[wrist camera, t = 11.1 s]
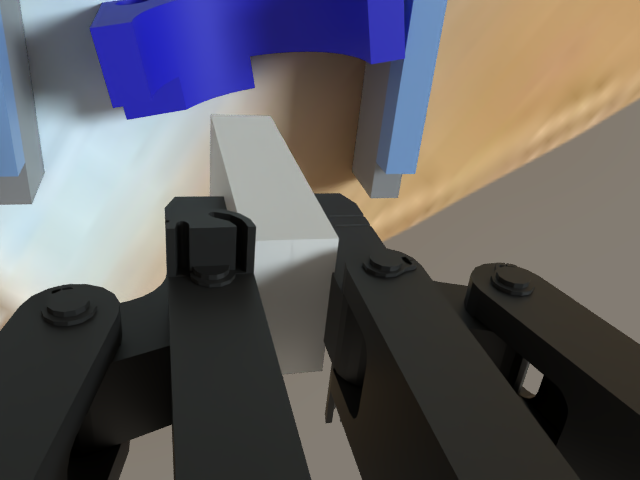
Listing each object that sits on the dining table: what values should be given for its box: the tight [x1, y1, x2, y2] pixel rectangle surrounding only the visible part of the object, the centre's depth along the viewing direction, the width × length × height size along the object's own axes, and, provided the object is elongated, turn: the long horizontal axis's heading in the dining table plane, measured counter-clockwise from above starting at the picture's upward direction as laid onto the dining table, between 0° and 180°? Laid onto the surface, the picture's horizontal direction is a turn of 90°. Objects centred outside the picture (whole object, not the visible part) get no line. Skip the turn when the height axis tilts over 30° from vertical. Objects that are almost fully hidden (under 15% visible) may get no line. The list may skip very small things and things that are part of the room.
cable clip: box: [90, 0, 405, 120], centre depth 26 cm, size 12×4×6 cm, turn 96°
